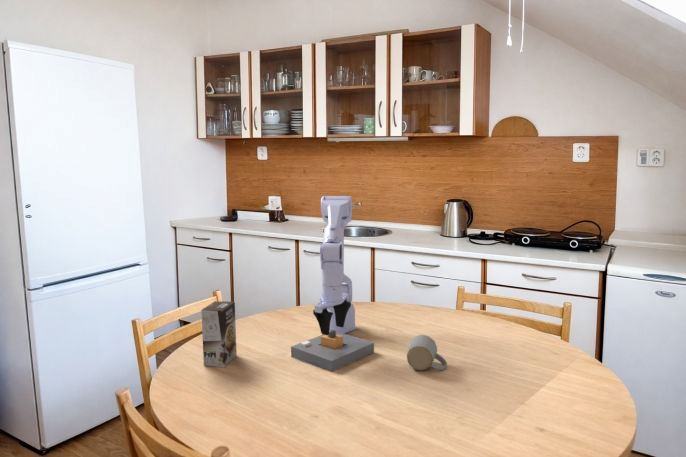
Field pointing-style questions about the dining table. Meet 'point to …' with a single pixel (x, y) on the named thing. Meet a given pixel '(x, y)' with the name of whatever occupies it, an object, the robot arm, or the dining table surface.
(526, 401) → the dining table surface
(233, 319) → the coffee box
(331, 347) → the plug
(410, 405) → the dining table surface
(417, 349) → the ceramic mug
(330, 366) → the socket plate
